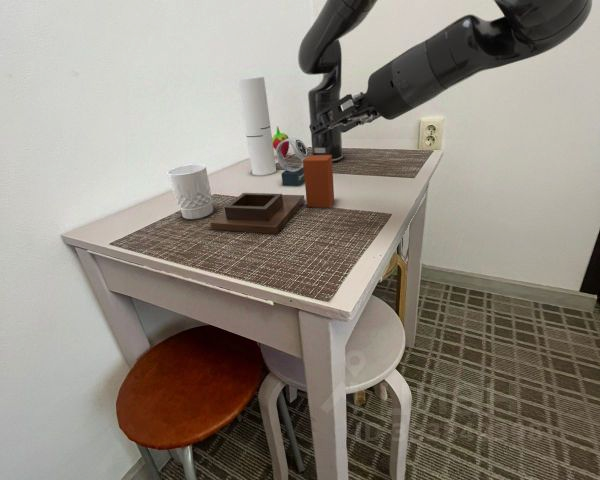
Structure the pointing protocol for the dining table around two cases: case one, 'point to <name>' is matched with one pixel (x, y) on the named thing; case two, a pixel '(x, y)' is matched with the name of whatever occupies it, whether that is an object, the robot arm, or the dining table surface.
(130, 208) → the dining table surface
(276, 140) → the strawberry
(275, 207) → the brown square tray
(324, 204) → the brown rectangular block
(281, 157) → the watch
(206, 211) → the white cup
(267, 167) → the cylindrical container
